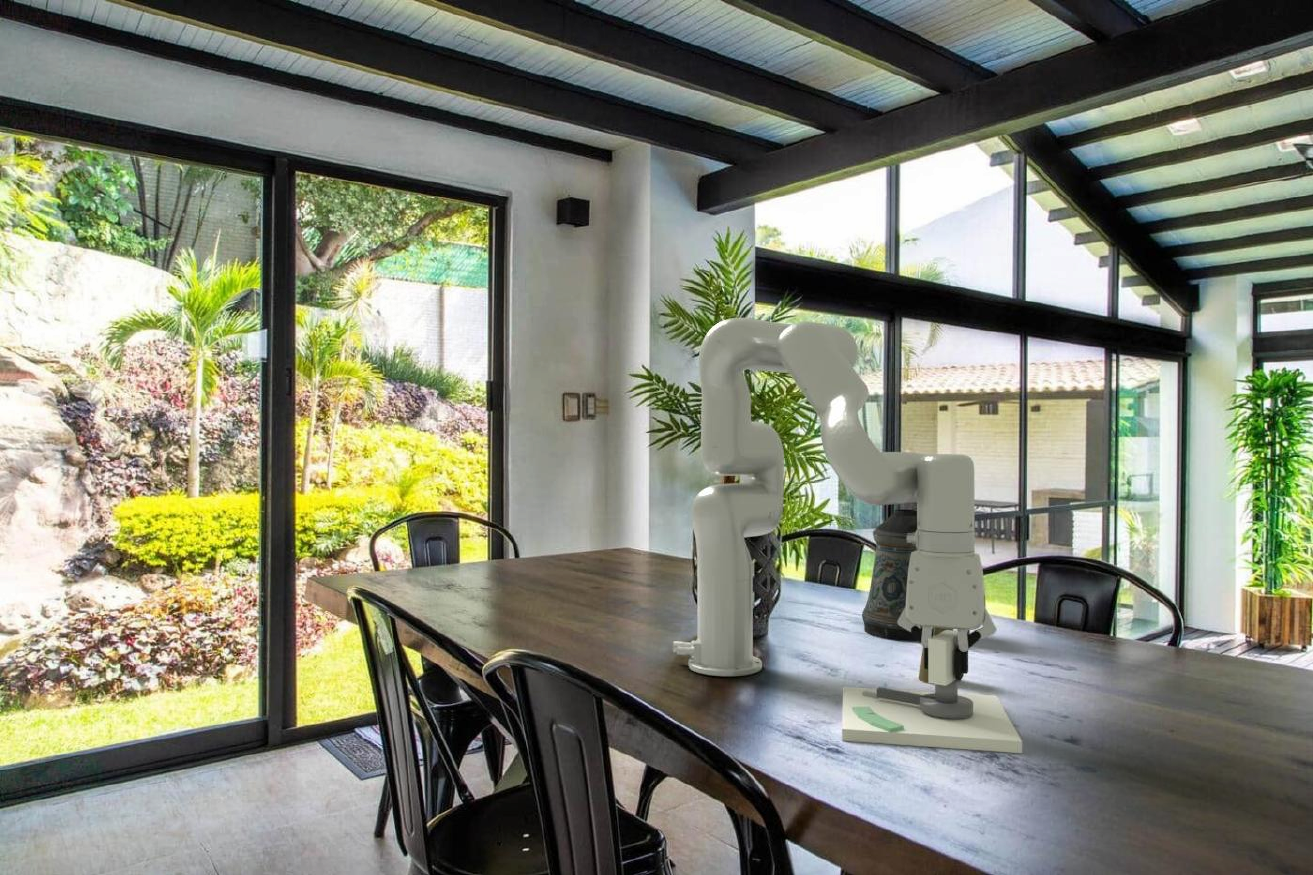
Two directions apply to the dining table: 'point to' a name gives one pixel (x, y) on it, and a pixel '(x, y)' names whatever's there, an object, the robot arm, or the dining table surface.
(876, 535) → the beer stein
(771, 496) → the robot arm
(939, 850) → the dining table surface
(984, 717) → the dial board
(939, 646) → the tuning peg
